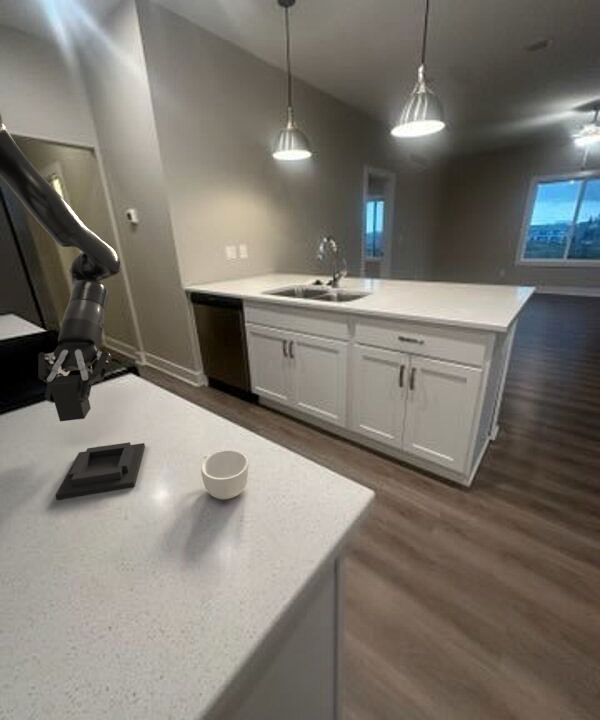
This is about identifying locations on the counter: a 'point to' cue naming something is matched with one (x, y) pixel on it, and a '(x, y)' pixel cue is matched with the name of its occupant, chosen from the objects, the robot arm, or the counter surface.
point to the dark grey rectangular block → (68, 398)
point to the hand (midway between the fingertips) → (66, 400)
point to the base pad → (100, 466)
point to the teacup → (225, 473)
